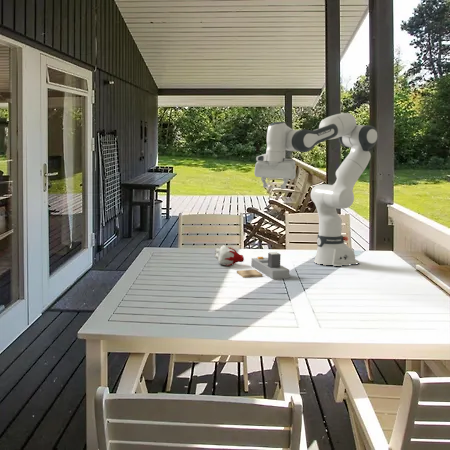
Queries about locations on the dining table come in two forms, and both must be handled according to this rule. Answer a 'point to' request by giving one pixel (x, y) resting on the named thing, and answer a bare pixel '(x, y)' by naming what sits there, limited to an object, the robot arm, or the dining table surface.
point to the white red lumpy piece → (228, 256)
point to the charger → (273, 259)
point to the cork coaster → (249, 273)
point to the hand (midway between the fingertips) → (274, 188)
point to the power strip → (263, 267)
